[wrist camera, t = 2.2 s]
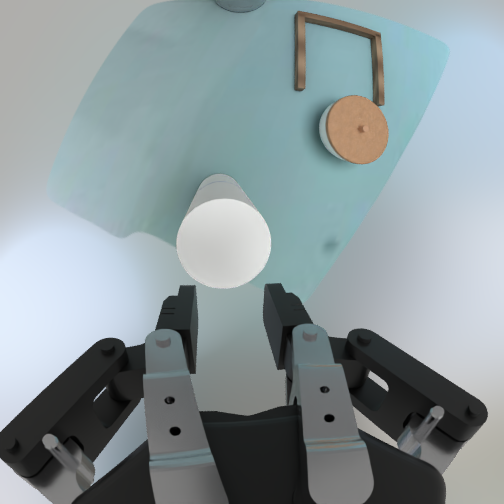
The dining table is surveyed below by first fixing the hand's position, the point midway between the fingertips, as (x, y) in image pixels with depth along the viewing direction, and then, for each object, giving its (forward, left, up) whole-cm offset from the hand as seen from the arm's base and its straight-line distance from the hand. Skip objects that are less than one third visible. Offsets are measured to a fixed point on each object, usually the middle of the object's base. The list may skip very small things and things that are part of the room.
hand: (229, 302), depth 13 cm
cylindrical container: (0, 0, -33) cm, 33 cm away
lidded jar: (-12, +20, -33) cm, 41 cm away
